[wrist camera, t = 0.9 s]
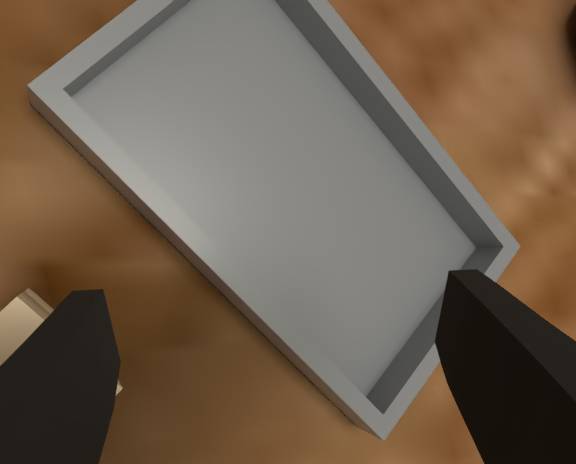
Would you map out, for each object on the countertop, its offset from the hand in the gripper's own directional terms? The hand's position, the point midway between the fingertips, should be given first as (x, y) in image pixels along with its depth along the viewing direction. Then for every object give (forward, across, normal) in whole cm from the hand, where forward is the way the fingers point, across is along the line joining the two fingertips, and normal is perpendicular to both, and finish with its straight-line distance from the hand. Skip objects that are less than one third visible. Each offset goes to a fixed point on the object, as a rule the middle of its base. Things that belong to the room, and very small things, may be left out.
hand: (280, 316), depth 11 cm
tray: (+14, -2, +4) cm, 14 cm away
